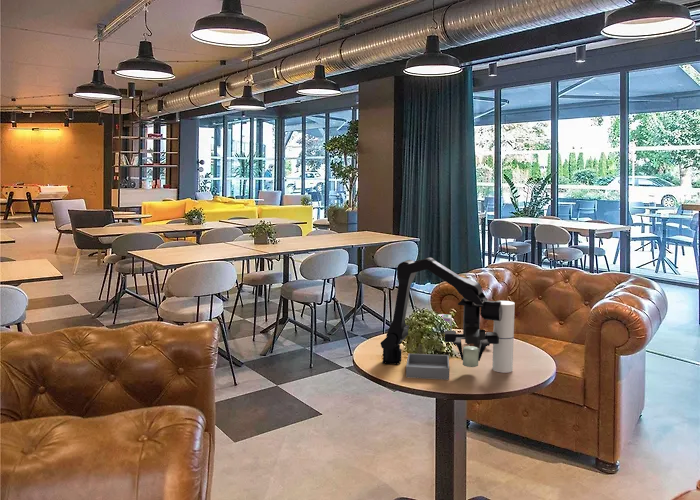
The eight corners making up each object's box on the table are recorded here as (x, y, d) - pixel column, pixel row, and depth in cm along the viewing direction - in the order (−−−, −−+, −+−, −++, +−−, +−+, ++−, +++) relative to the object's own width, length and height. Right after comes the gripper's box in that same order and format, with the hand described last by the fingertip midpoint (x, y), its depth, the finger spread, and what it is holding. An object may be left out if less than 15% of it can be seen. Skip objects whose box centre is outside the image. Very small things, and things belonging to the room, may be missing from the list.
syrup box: (451, 353, 227) (451, 317, 225) (436, 352, 228) (436, 317, 226) (451, 348, 232) (452, 314, 231) (436, 347, 234) (437, 313, 232)
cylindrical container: (501, 373, 203) (503, 305, 199) (488, 368, 209) (490, 301, 206) (516, 370, 206) (519, 303, 203) (502, 365, 212) (505, 299, 209)
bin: (406, 377, 200) (406, 366, 199) (408, 363, 214) (408, 353, 214) (449, 379, 197) (449, 368, 197) (448, 365, 212) (448, 355, 211)
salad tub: (462, 366, 201) (463, 350, 200) (462, 361, 206) (462, 345, 205) (478, 367, 200) (479, 351, 199) (477, 362, 205) (478, 346, 204)
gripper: (445, 322, 194) (444, 366, 196) (501, 324, 191) (499, 369, 193) (444, 314, 205) (444, 356, 207) (497, 316, 202) (496, 358, 204)
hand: (470, 360), depth 203 cm, fingers closed on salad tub, 5 cm apart
